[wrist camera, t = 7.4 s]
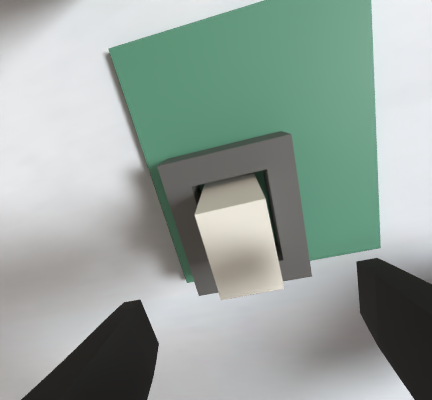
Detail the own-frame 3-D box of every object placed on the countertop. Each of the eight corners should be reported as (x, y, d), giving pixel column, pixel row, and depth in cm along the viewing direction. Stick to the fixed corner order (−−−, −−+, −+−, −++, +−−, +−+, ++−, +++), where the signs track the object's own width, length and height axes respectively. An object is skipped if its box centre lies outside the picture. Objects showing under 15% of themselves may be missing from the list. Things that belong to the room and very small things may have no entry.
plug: (251, 168, 16) (265, 198, 10) (265, 230, 17) (284, 288, 11) (205, 179, 16) (194, 214, 10) (223, 239, 17) (221, 300, 12)
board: (364, -27, 13) (404, -68, 10) (376, 244, 18) (405, 269, 15) (112, 50, 14) (83, 34, 11) (187, 278, 19) (181, 307, 16)
